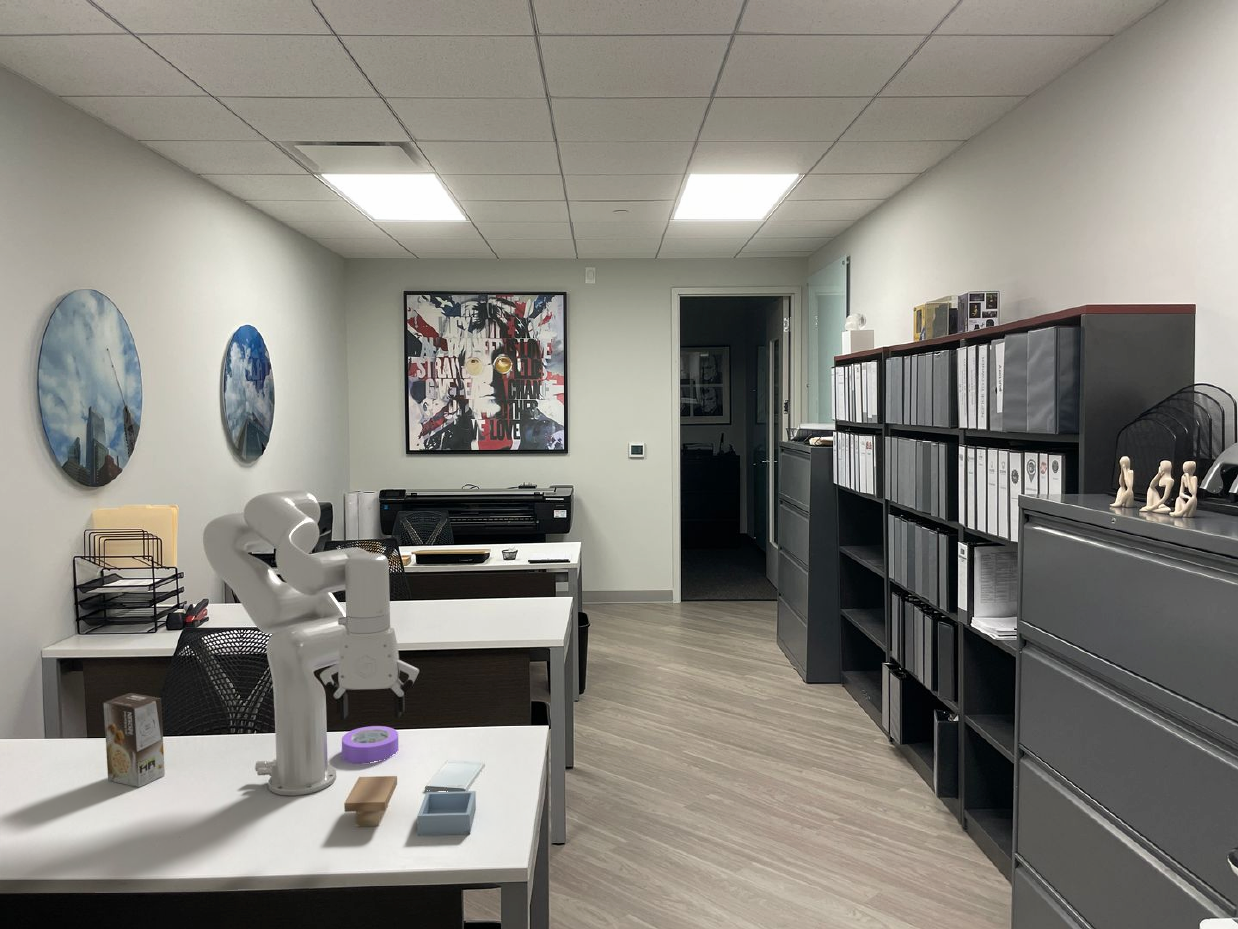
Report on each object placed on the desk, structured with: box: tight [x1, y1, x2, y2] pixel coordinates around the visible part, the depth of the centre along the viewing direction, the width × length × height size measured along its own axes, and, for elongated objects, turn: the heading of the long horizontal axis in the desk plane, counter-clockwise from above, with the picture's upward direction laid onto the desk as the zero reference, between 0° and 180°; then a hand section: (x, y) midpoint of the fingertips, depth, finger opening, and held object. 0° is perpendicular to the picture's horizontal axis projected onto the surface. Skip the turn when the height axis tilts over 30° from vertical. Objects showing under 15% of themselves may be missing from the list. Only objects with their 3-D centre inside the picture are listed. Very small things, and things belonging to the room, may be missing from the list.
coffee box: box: [103, 692, 166, 788], centre depth 172 cm, size 9×6×16 cm
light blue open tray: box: [416, 790, 477, 836], centre depth 154 cm, size 9×9×4 cm
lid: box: [343, 775, 398, 813], centre depth 156 cm, size 7×10×2 cm, turn 3°
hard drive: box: [424, 759, 486, 792], centre depth 172 cm, size 2×8×12 cm
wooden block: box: [355, 807, 388, 827], centre depth 156 cm, size 4×7×4 cm, turn 3°
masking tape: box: [341, 725, 399, 765], centre depth 185 cm, size 12×12×4 cm
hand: (371, 716), depth 155 cm, fingers open, 9 cm apart
